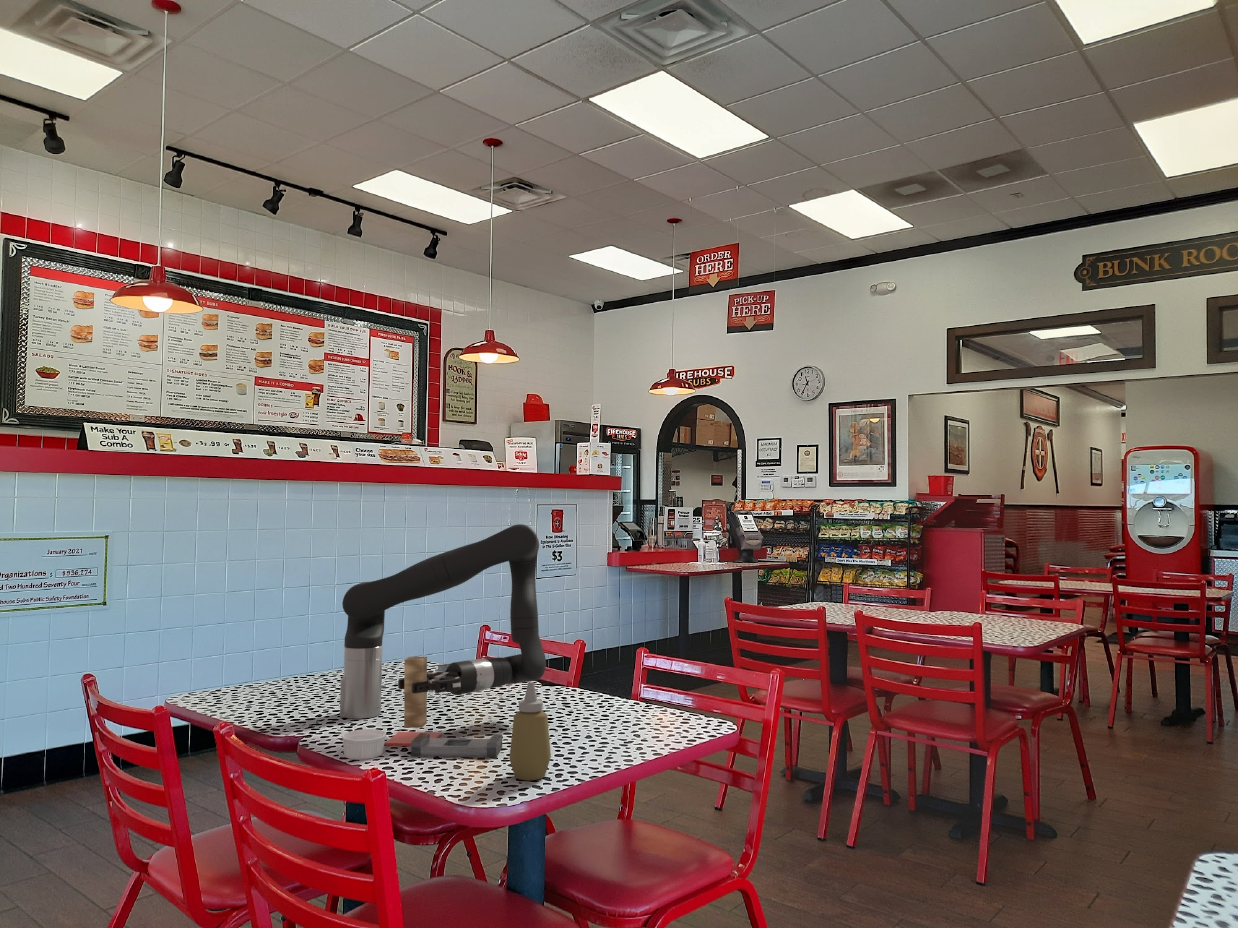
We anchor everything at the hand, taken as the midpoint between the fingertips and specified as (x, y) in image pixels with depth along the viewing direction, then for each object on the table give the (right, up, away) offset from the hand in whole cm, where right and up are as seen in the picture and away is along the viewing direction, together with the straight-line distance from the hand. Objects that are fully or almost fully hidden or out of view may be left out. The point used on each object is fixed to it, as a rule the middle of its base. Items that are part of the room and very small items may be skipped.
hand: (405, 686), depth 190 cm
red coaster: (+2, -12, +1) cm, 12 cm away
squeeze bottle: (+30, -11, -25) cm, 41 cm away
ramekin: (-6, -12, -11) cm, 17 cm away
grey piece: (+13, -12, -9) cm, 20 cm away
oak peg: (+2, -9, +1) cm, 9 cm away
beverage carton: (+3, -17, +68) cm, 70 cm away
